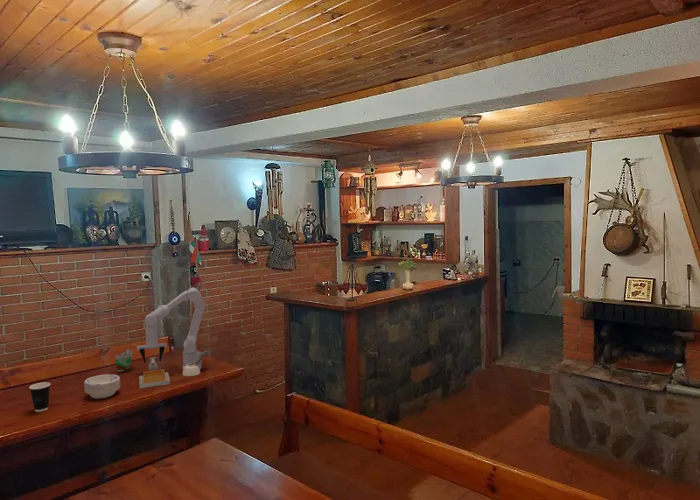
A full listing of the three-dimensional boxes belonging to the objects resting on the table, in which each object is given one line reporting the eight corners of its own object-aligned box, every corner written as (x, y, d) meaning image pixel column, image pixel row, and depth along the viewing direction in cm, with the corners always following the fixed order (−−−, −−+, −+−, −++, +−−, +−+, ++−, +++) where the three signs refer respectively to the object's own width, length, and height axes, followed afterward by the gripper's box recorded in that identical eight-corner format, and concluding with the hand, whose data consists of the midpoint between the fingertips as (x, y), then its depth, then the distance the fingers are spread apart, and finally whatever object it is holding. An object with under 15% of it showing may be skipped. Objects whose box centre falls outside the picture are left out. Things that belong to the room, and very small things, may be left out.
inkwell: (178, 374, 268) (177, 356, 267) (204, 365, 283) (204, 347, 282) (190, 377, 263) (189, 358, 262) (216, 368, 278) (215, 350, 277)
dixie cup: (48, 404, 228) (47, 380, 228) (54, 409, 223) (52, 385, 222) (28, 410, 223) (26, 385, 222) (34, 414, 217) (32, 389, 216)
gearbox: (168, 375, 266) (167, 367, 266) (170, 384, 253) (169, 375, 253) (139, 379, 260) (138, 371, 260) (139, 388, 248) (139, 379, 247)
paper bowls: (127, 390, 245) (127, 374, 244) (104, 402, 230) (103, 385, 230) (101, 388, 249) (100, 372, 248) (77, 399, 234) (76, 382, 234)
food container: (127, 373, 270) (126, 355, 269) (116, 374, 270) (115, 355, 270) (137, 366, 283) (136, 349, 282) (126, 366, 283) (125, 349, 282)
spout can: (157, 371, 274) (156, 356, 274) (158, 374, 268) (157, 359, 268) (148, 372, 273) (148, 357, 272) (149, 375, 267) (148, 360, 266)
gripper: (165, 333, 276) (166, 358, 277) (136, 336, 271) (137, 361, 272) (166, 336, 270) (167, 361, 271) (136, 339, 264) (137, 365, 265)
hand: (152, 361), depth 271 cm, fingers open, 7 cm apart
